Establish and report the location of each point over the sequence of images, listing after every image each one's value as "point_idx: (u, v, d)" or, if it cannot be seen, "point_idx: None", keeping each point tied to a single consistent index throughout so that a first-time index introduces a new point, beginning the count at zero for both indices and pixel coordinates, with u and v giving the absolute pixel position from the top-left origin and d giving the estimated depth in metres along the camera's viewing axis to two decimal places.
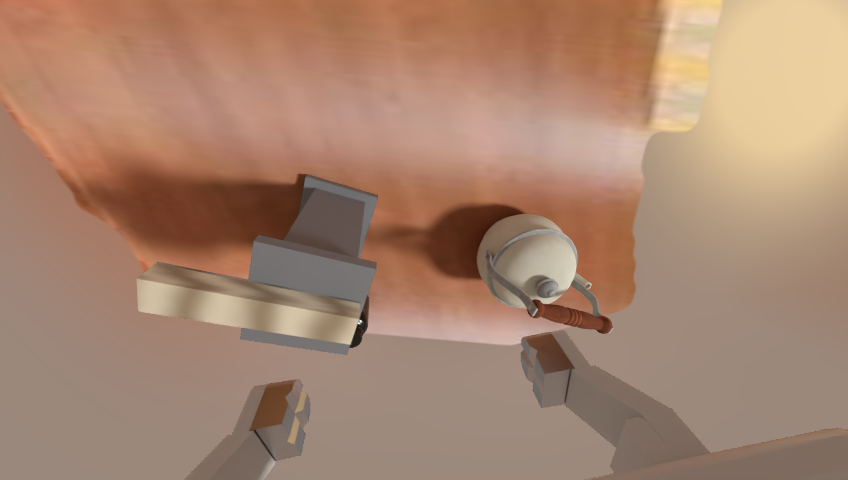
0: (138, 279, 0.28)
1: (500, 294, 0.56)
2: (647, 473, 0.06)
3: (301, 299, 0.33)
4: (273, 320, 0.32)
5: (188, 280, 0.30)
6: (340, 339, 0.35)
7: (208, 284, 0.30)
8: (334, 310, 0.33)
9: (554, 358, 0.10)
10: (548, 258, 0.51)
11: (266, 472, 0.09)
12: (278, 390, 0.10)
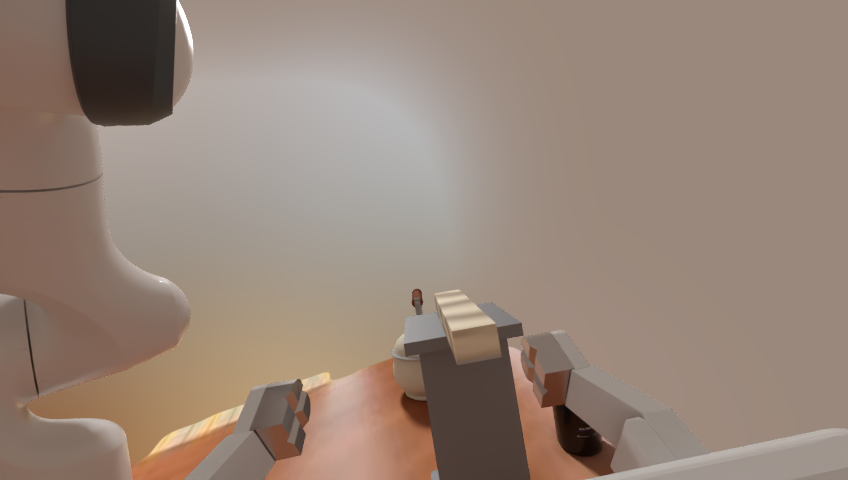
0: (452, 331, 0.26)
1: None
2: (647, 473, 0.06)
3: (439, 311, 0.41)
4: (456, 301, 0.39)
5: (448, 331, 0.30)
6: (456, 291, 0.46)
7: (446, 326, 0.32)
8: None
9: (554, 358, 0.10)
10: None
11: (266, 472, 0.09)
12: (278, 390, 0.10)
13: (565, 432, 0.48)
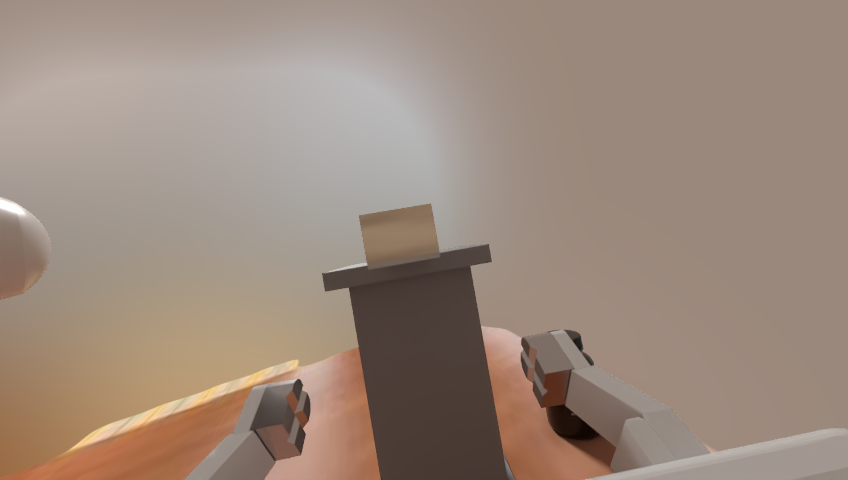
0: (360, 215, 0.16)
1: None
2: (647, 473, 0.06)
3: None
4: None
5: None
6: None
7: None
8: None
9: (554, 358, 0.10)
10: None
11: (266, 472, 0.09)
12: (278, 390, 0.10)
13: (557, 409, 0.38)
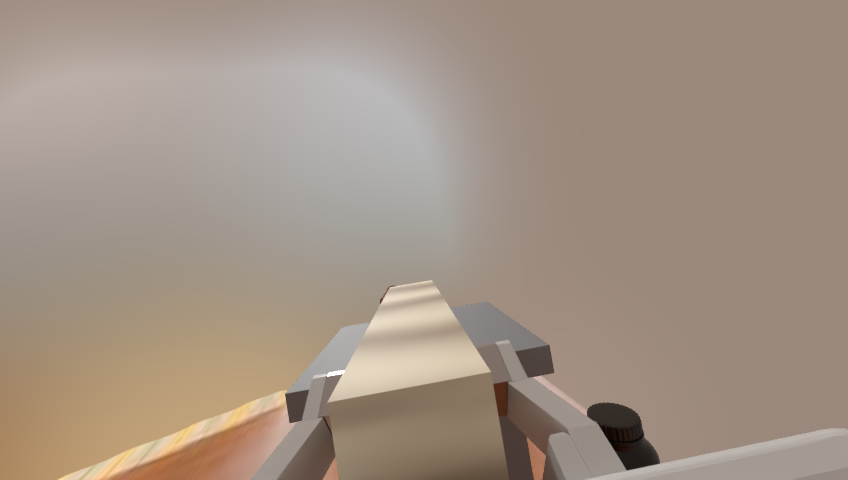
0: (331, 400, 0.07)
1: None
2: (647, 473, 0.06)
3: None
4: (414, 298, 0.20)
5: None
6: (426, 282, 0.27)
7: None
8: None
9: (493, 370, 0.09)
10: None
11: (331, 459, 0.09)
12: None
13: None
